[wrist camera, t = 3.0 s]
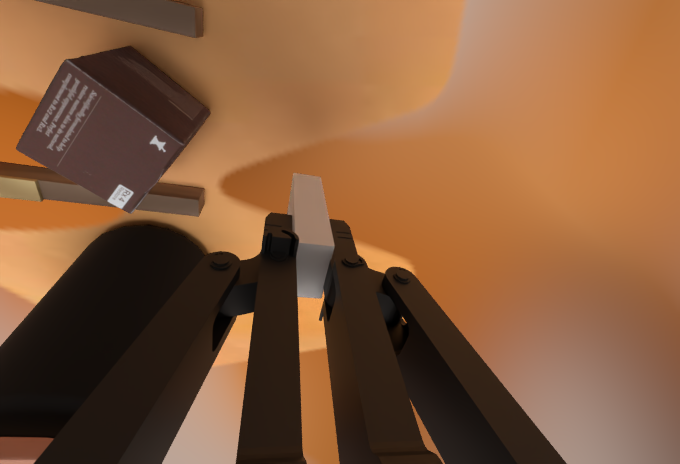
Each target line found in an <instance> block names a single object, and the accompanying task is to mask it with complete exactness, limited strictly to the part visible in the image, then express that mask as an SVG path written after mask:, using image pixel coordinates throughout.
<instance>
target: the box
mask: <svg viewBox="0 0 680 464" xmlns="http://www.w3.org/2000/svg"><path fill="white" fill-rule="evenodd" d="M209 115H210V111H209V110H208V109H207V108H206V107H204V106H203V105H202V104H201V103H200V102H198V101H197V100H196V99H195V98H194V97H192V96H191V95H190V94H189V93H187V92H186V91H185V90H183V89H182V88H181V87H180V86H179V85H178V84H176V83H175V82H174V81H173V80H171V79H170V78H169V77H168V76H167V75H165V74H164V73H163V72H161V71H160V70H159V69H158V68H157V67H155V66H154V65H153V64H152V63H151V62H149V61H148V60H147V59H145V58H144V57H143V56H142V55H141V54H140V53H138V52H137V51H136V50H135V49H133V48H132V47H131V46H127V47H123V48H118V49H114V50H109V51H104V52H100V53H96V54H92V55H87V56H81V57H79V58H75V59H66V60H65V61H64V62H63V63H62V65H61V66H60V68H59V70H58V72H57V74H56V75H55V77H54V79H53V80H52V82H51V84H50V85H49V87H48V89H47V91H46V93H45V95H44V97H43V98H42V100H41V102H40V104H39V106H38V108H37V109H36V111H35V113H34V115H33V117H32V119H31V121H30V122H29V124H28V126H27V128H26V130H25V131H24V133H23V135H22V137H21V139H20V141H19V143H18V145H17V147H16V149H17V150H18V151H19V152H21V153H23V154H25V155H26V156H28V157H30V158H31V159H33V160H35V161H37V162H39V163H40V164H42V165H44V166H46V167H48V168H49V169H51V170H53V171H55V172H56V173H58V174H60V175H62V176H64V177H65V178H67V179H69V180H71V181H73V182H74V183H76V184H78V185H80V186H81V187H83V188H85V189H87V190H88V191H90V192H92V193H94V194H95V195H97V196H99V197H101V198H102V199H104V200H106V201H108V202H109V203H111V204H113V205H115V206H117V207H118V208H120V209H122V210H124V211H126V212H128V213H133V212H134V210H135V209H136V208H137V207H138V205H139V204H140V203H141V202H142V200H143V199H144V198H145V197H146V195H147V194H148V193H149V192H150V190H151V189H152V188H153V187H154V185H155V184H156V183H157V182H158V180H159V179H160V178H161V177H162V175H163V174H164V173H165V172H166V171H167V169H168V168H169V167H170V166H171V164H172V163H173V162H174V161H175V160H176V158H177V157H178V156H179V155H180V153H181V152H182V151H183V150H184V148H185V147H186V146H187V144H188V143H189V142H190V141H191V139H192V138H193V137H194V135H195V134H196V133H197V131H198V130H199V129H200V127H201V126H202V125H203V123H204V122H205V120H206V119H207V118H208V117H209Z"/></svg>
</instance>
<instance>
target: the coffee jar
mask: <svg viewBox="0 0 680 464" xmlns="http://www.w3.org/2000/svg"><path fill="white" fill-rule="evenodd" d="M203 257H205V255H204V254H203V253H202V251H201V250H200V249H199V247H198V246H197V245H195V244H194V243H193V242H192V241H190V240H189V239H188V238H186V237H185V236H183V235H181V234H179V233H176V232H174V231H172V230H170V229H166V228H161V227H156V226H151V225H144V226H125V227H122V228H119V229H116V230H113V231H109V232H106V233H104V234H102V235H101V236H99V237H98V238H97V239H96V240H94V241H93V242H92V243H91V244H89V246H88V247H87V248H86V249H85V250H84V251H83V252H82V254H81V255H80V256H79V257H78V258H77V259H76V260H75V262H74V263H73V264H72V265H71V266H70V267H69V268H68V270H67V271H66V272H65V273H64V274H63V275H62V276H61V278H60V279H59V280H58V281H57V282H56V283H55V284H54V286H53V287H52V288H51V289H50V290H49V291H48V292H47V294H46V295H45V296H44V297H43V298H42V299H41V300H40V302H39V303H38V304H37V305H36V306H35V307H34V308H33V310H32V311H31V312H30V313H29V314H28V316H27V317H26V318H25V319H24V320H23V321H22V322H21V323H20V324H19V326H18V327H17V328H16V329H15V330H14V331H13V332H12V334H11V335H10V336H9V337H8V338H7V339H6V340H5V342H4V343H3V344H2V345H1V346H0V464H34V462H35V461H36V460H37V459H38V457H39V456H40V455H41V454H42V453H43V451H44V450H45V449H46V448H47V447H48V445H49V444H50V443H51V442H52V440H53V439H54V438H55V437H56V436H57V434H58V433H59V432H60V431H61V429H62V428H63V427H64V426H65V425H66V423H67V422H68V421H69V420H70V419H71V417H72V416H73V415H74V414H75V412H76V411H77V410H78V409H79V408H80V406H81V405H82V404H83V403H84V402H85V400H86V399H87V398H88V397H89V395H90V394H91V393H92V392H93V391H94V389H95V388H96V387H97V386H98V385H99V383H100V382H101V381H102V380H103V378H104V377H105V376H106V375H107V374H108V372H109V371H110V370H111V369H112V367H113V366H114V365H115V364H116V363H117V361H118V360H119V359H120V358H121V357H122V355H123V354H124V353H125V352H126V350H127V349H128V348H129V347H130V346H131V344H132V343H133V342H134V341H135V340H136V338H137V337H138V336H139V335H140V333H141V332H142V331H143V330H144V329H145V327H146V326H147V325H148V324H149V323H150V321H151V320H152V319H153V318H154V316H155V315H156V314H157V313H158V312H159V310H160V309H161V308H162V307H163V305H164V304H165V303H166V302H167V301H168V299H169V298H170V297H171V296H172V295H173V293H174V292H175V291H176V290H177V288H178V287H179V286H180V285H181V284H182V282H183V281H184V280H185V279H186V278H187V276H188V275H189V274H190V273H191V271H192V270H193V269H194V268H195V267H196V265H197V264H198V263H199V262H200V261H201V259H202V258H203Z"/></svg>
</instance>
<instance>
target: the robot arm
mask: <svg viewBox="0 0 680 464" xmlns="http://www.w3.org/2000/svg"><path fill="white" fill-rule="evenodd" d="M323 290H324V295H325V298H324V302H323V305H322V309H321V313H320V317H319V321H322V317H323V318H324V327H325V336H326V345H327V354H328V362H329V371H330V380H331V390H332V397H333V398H332V399H333V407H334V416H335V425H336V434H337V443H338V452H339V461H340V464H443V463H442V462H441V460H440V459H439V457H438V456H437V455H436V454H435V453H433V452H431V451H429V450H427V448H426V447H425V445H424V443H423V440H422V437H421V434H420V431H419V428H418V425H417V421H416V418H415V415H414V412H413V409H412V405H411V402H412V404H413V406H414V407H415V409H416V411H417V413H418V415H419V416H420V418H421V420H422V422H423V424H424V426H425V427H426V429H427V431H428V433H429V435H430V436H431V438H432V440H433V442H434V444H435V446H436V448H437V449H438V451H439V453H440V455H441V457H442V458H443V460H444V462H445V464H566V462H565V461H564V460H563V459H562V457H561V456H560V455H559V454H558V452H557V451H556V450H555V449H554V447H553V446H552V445H551V444H550V442H549V441H548V440H547V439H546V438H545V436H544V435H543V434H542V433H541V432H540V430H539V429H538V428H537V426H536V425H535V424H534V423H533V421H532V420H531V419H530V418H529V416H527V414H526V413H525V412H524V410H523V409H522V408H521V407H520V405H519V404H518V403H517V402H516V400H515V399H514V398H513V397H512V395H511V394H510V393H509V392H508V390H507V389H506V388H505V387H504V386H503V384H502V383H501V382H500V381H499V379H498V378H497V377H496V376H495V374H494V373H493V372H492V371H491V369H490V368H489V367H488V366H487V364H486V363H485V362H484V361H483V359H482V358H481V357H480V356H479V355H478V353H477V352H476V351H475V350H474V348H473V347H472V346H471V345H470V343H469V342H468V341H467V340H466V338H465V337H464V336H463V335H462V333H461V332H460V331H459V330H458V329H457V327H456V326H455V325H454V324H453V323H452V321H451V320H450V319H449V317H448V316H447V315H446V314H445V312H444V311H443V310H442V309H441V307H440V306H439V305H438V304H437V303H436V302H435V300H434V299H433V298H432V296H431V295H430V294H429V293H428V292H427V290H426V289H425V288H424V286H423V285H422V284H421V283H420V281H419V280H418V279H417V278H416V277H415V275H413V274H412V273H411V272H410V271H408V270H406V269H404V268H400V267H391V268H388V269H387V270H386V272H385V274H384V273H381V272H378V271H374V270H372V269H370V268H368V266H367V263H366V262H365V260H364V259H363V258H362V257H361V256H359V255H358V254H357V251H356V247H355V244H354V241H353V237H352V234H351V230H350V227H349V226H348V225H347V224H346V223H345V222H344V221H341V220H333V219H329V216H328V211H327V206H326V201H325V196H324V191H323V186H322V181H321V177H317V176H311V175H305V174H298V173H293V179H292V186H291V192H290V200H289V206H288V212H287V214H279V213H270V214H269V215H268V216H267V217H266V219H265V227H264V235H263V241H262V250H261V252H260V253H259V255H257V256H256V257H254V258H251V259H247V260H241V261H240V259H239V258H238V257H237V256H236V255H234V254H232V253H229V252H222V251H220V252H213V253H210V254H207V255H206V256H205V257H203V258H202V259H201V261H200V262H199V263H198V264H197V265H196V267H195V268H194V269H193V270H192V271H191V273H190V274H189V275H188V276H187V278H186V279H185V280H184V281H183V282H182V284H181V285H180V286H179V287H178V288H177V290H176V291H175V292H174V293H173V295H172V296H171V297H170V298H169V299H168V301H167V302H166V303H165V304H164V305H163V307H162V308H161V309H160V310H159V312H158V313H157V314H156V315H155V316H154V318H153V319H152V320H151V321H150V323H149V324H148V325H147V326H146V327H145V329H144V330H143V331H142V332H141V333H140V335H139V336H138V337H137V338H136V340H135V341H134V342H133V343H132V344H131V346H130V347H129V348H128V349H127V350H126V352H125V353H124V354H123V355H122V357H121V358H120V359H119V360H118V361H117V363H116V364H115V365H114V366H113V367H112V369H111V370H110V371H109V372H108V374H107V375H106V376H105V377H104V378H103V380H102V381H101V382H100V383H99V385H98V386H97V387H96V388H95V389H94V391H93V392H92V393H91V394H90V395H89V397H88V398H87V399H86V400H85V402H84V403H83V404H82V405H81V406H80V408H79V409H78V410H77V411H76V412H75V414H74V415H73V416H72V417H71V419H70V420H69V421H68V422H67V423H66V425H65V426H64V427H63V428H62V429H61V431H60V432H59V433H58V434H57V436H56V437H55V438H54V439H53V440H52V442H51V443H50V444H49V445H48V447H47V448H46V449H45V450H44V451H43V453H42V454H41V455H40V456H39V457H38V459H37V460H36V461H35V462H34V464H162V462H163V460H164V458H165V456H166V454H167V452H168V450H169V448H170V446H171V444H172V442H173V440H174V438H175V437H176V434H177V433H178V431H179V429H180V427H181V425H182V423H183V421H184V419H185V417H186V415H187V413H188V411H189V409H190V407H191V405H192V404H193V401H194V400H195V398H196V396H197V394H198V392H199V390H200V388H201V386H202V384H203V382H204V380H205V378H206V376H207V374H208V373H209V370H210V369H211V367H212V365H213V363H214V361H215V359H216V357H217V355H218V353H219V351H220V349H221V347H222V345H223V343H224V342H225V340H226V338H227V336H228V334H229V332H230V330H231V328H232V326H233V324H234V322H235V320H236V317H237V315H242V314H247V313H252V312H254V317H253V325H252V333H251V342H250V350H249V358H248V367H247V375H246V383H245V392H244V400H243V409H242V417H241V426H240V433H239V442H238V450H237V458H236V464H307V463H306V460H305V458H304V457H303V451H302V427H301V426H302V424H301V394H300V362H299V330H298V299H297V297H308V298H322V294H323ZM402 317H403V318H404V319H405V321H406V322H407V323H405V322H404V321H403V319H402ZM409 398H410V399H409ZM410 400H411V402H410Z"/></svg>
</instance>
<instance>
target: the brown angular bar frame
mask: <svg viewBox="0 0 680 464" xmlns="http://www.w3.org/2000/svg"><path fill="white" fill-rule="evenodd" d="M36 1H40V2H44V3H49V4H53V5H57V6H61V7H66V8H70V9H74V10H78V11H83V12H87V13H91V14H96V15H100V16H104V17H108V18H113V19H117V20H121V21H125V22H130V23H134V24H138V25H142V26H147V27H151V28H155V29H159V30H164V31H168V32H172V33H177V34H181V35H185V36H189V37H194V38H197V37H202V36H203V8H199V7H195V6H191V5H187V4H183V3H180V2H176V1H172V0H36ZM0 197H4V198H13V199H23V200H31V201H40V202H41V201H43V200H44V199H48V200H57V201H65V202H74V203H83V204H92V205H101V206H110V207H117V206H115V205H113V204H111V203H109V202H108V201H106V200H104V199H102V198H101V197H99V196H97V195H95V194H94V193H92V192H90V191H88V190H87V189H85V188H83V187H81V186H80V185H78V184H76V183H74V182H73V181H71V180H69V179H67V178H65V177H64V176H62V175H60V174H58V173H56V172H55V171H53V170H51V169H49V168H43V167H37V166H29V165H21V164H14V163H6V162H0ZM203 206H204V189H203V188H195V187H188V186H180V185H172V184H165V183H156V184H155V185H154V187H153V188H152V189H151V190H150V192H149V193H148V194H147V195H146V197H145V198H144V199H143V200H142V202H141V203H140V204H139V205H138V207H137V208H136V210H145V211H154V212H163V213H171V214H180V215H189V216H198V217H199V215H200V213H201V211H202V208H203Z"/></svg>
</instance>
